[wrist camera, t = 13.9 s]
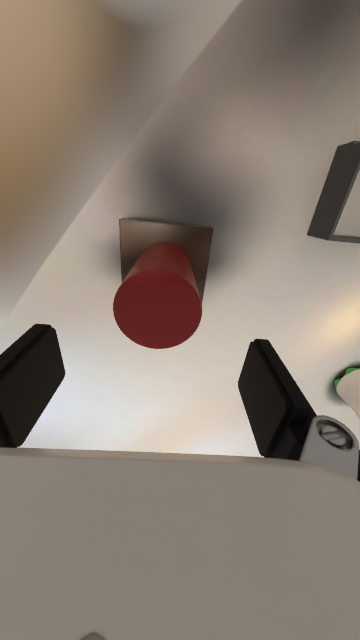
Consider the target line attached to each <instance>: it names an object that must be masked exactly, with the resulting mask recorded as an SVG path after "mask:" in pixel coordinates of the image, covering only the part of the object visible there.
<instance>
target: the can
mask: <svg viewBox="0 0 360 640" xmlns="http://www.w3.org/2000/svg"><path fill="white" fill-rule="evenodd" d="M113 311H114V317H115V320H116V322H117V325H118V326H119V328H120V330H121V331H122V332H123V333H124V334H125V335H126V336H127V337H128V338H129V339H131V340H132V341H134V342H135V343H137V344H139V345H142V346H145V347H148V348H155V349H164V348H170V347H174V346H177V345H179V344H181V343H183V342H184V341H186V340H187V339H188V338H190V337H191V336H192V335H193V333H194V332H195V331H196V329H197V328H198V326H199V323H200V321H201V316H202V304H201V300H200V296H199V292H198V289H197V285H196V281H195V277H194V274H193V270H192V266H191V262H190V260H189V258H188V256H187V254H186V253H185V252H184V251H183V250H182V249H181V248H180V247H178V246H177V245H175V244H172V243H168V242H159V243H155V244H152V245H150V246H149V247H147V248H146V249H145V250H144V251H143V252H142V253H141V255H140V256H139V258H138V259H137V261H136V262H135V264H134V266H133V267H132V269H131V270H130V272H129V273H128V275H127V276H126V278H125V279H124V281H123V283H122V284H121V286H120V287H119V289H118V291H117V293H116V295H115V298H114V303H113Z"/></svg>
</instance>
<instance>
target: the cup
mask: <svg viewBox="0 0 360 640" xmlns="http://www.w3.org/2000/svg"><path fill="white" fill-rule="evenodd" d="M334 384H335V387H336V390H337V393H338V395H339V396H340V397H341V398H342V399H343V400H344V401H345V402H346V403H347V404H349V405H350V407H351V408H352V409H353V410H354V412H355V413H356V415H357V416H358V418H359V419H360V368H348V369H347V370H346V374H345V375H344V376H343V377H342V378H338V379H336V380H335V381H334Z"/></svg>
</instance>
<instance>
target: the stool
mask: <svg viewBox="0 0 360 640" xmlns="http://www.w3.org/2000/svg"><path fill="white" fill-rule="evenodd" d="M119 226H120V250H121V275H122V283H123V281H124V279H125V278H126V276H127V275H128V273H129V272H130V270H131V269H132V267H133V266H134V264H135V262H136V261H137V259H138V258H139V256H140V255H141V253H142V252H143V251H144V250H145V249H146V248H147V247H149V246H150V245H152V244H155V243H159V242H168V243H172V244H175V245H177V246H178V247H180V248H181V249H182V250H183V251H184V252H185V253H186V254H187V256H188V258H189V260H190V262H191V266H192V270H193V274H194V277H195V281H196V285H197V289H198V292H199V296H200V300H201V304H202V300H203V293H204V286H205V280H206V273H207V267H208V260H209V254H210V247H211V241H212V234H213V228H212V227H208V226H198V225H188V224H177V223H167V222H157V221H146V220H136V219H126V218H122V219H119Z"/></svg>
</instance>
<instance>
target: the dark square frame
mask: <svg viewBox="0 0 360 640" xmlns="http://www.w3.org/2000/svg"><path fill="white" fill-rule="evenodd" d="M359 169H360V141H353V142H350V143H347V144H344V145H341V146H338V148H337V151H336V154H335V157H334V159H333V162H332V165H331V168H330V171H329V174H328V177H327V179H326V182H325V185H324V188H323V191H322V194H321V197H320V199H319V202H318V205H317V208H316V211H315V214H314V217H313V219H312V222H311V225H310V228H309V231H308V234H307V235H309V236H313V237H317V238H321V239H325V240H330V241H341V242H351V243H360V238H357V237H347V236H337V235H333V233H334V231H335V229H336V226H337V224H338V221H339V219H340V216H341V214H342V211H343V209H344V206H345V204H346V201H347V199H348V196H349V194H350V191H351V189H352V186H353V184H354V181H355V179H356V177H357V174H358V172H359Z"/></svg>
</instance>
